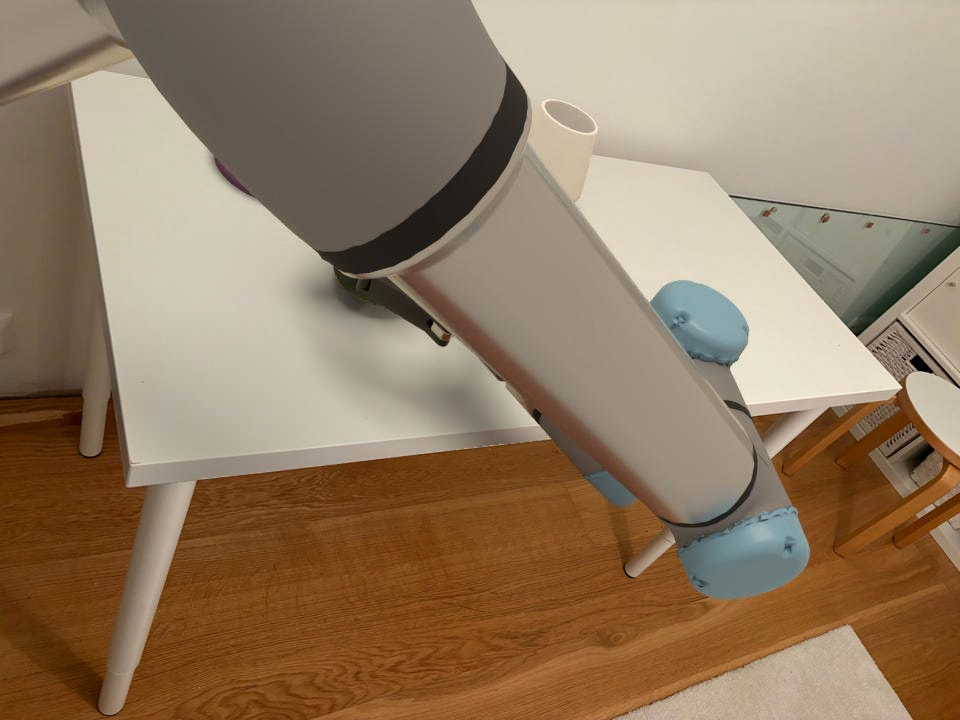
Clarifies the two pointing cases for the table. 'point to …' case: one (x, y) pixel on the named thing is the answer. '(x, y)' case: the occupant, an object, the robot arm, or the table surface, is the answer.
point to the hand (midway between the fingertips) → (394, 209)
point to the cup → (564, 142)
